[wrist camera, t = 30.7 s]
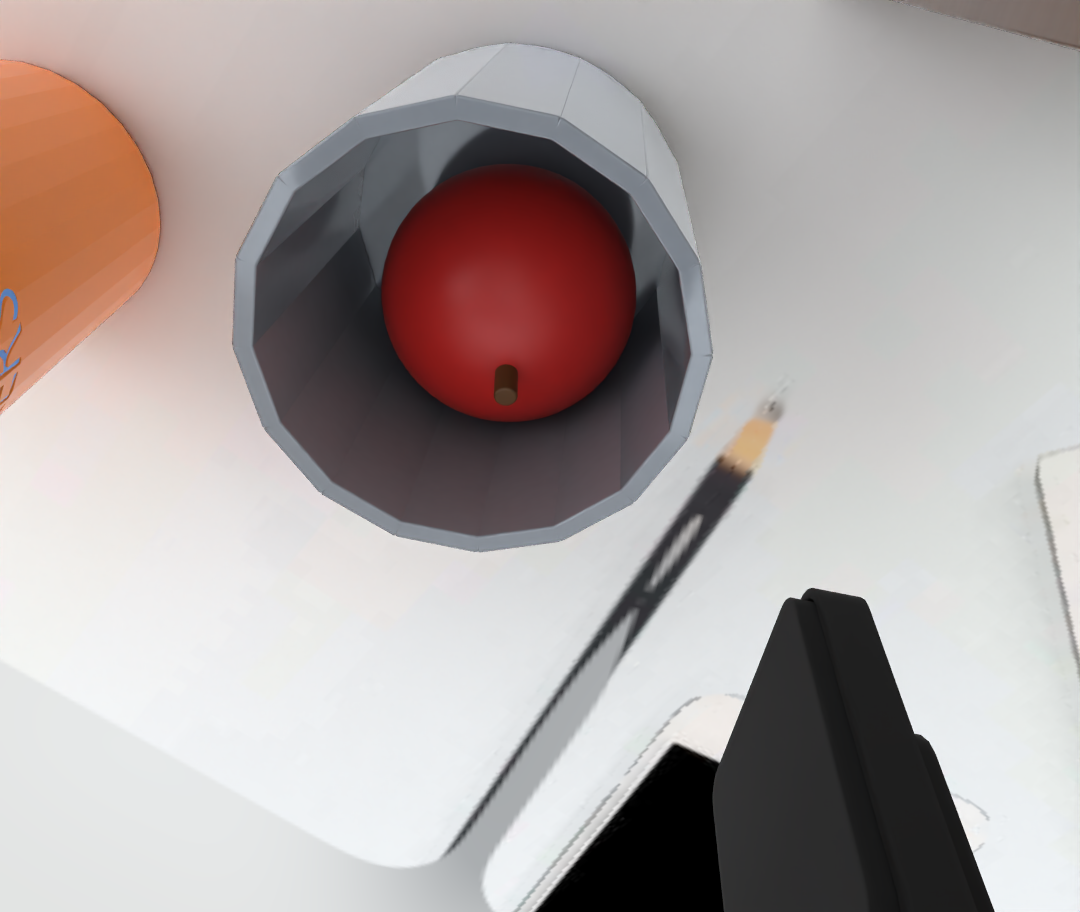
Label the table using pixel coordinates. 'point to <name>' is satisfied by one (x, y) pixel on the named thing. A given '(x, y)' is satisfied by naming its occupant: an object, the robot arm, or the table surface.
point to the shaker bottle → (64, 221)
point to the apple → (508, 292)
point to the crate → (1016, 17)
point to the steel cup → (367, 352)
